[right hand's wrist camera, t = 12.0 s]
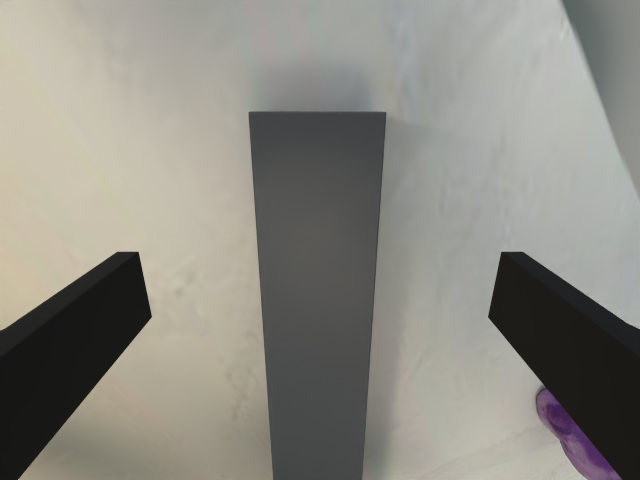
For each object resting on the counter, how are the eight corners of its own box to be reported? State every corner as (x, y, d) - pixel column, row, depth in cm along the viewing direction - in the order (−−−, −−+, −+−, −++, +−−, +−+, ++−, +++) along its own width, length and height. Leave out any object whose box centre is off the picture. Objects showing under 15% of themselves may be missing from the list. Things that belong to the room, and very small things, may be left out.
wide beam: (264, 111, 29) (248, 111, 23) (371, 112, 29) (386, 111, 23) (284, 503, 48) (279, 565, 41) (351, 503, 48) (356, 565, 41)
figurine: (572, 445, 43) (693, 604, 29) (512, 413, 41) (611, 568, 27) (630, 396, 40) (796, 547, 26) (569, 360, 39) (712, 502, 25)
